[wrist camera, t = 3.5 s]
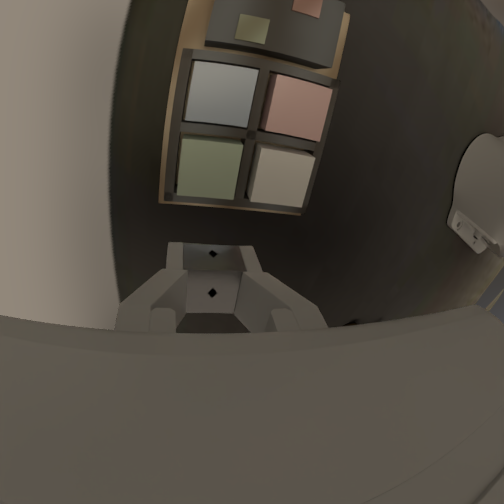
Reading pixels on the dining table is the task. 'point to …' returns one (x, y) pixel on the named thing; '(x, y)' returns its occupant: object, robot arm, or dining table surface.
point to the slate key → (221, 94)
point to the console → (268, 63)
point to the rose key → (295, 107)
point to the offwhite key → (279, 175)
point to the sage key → (209, 166)
